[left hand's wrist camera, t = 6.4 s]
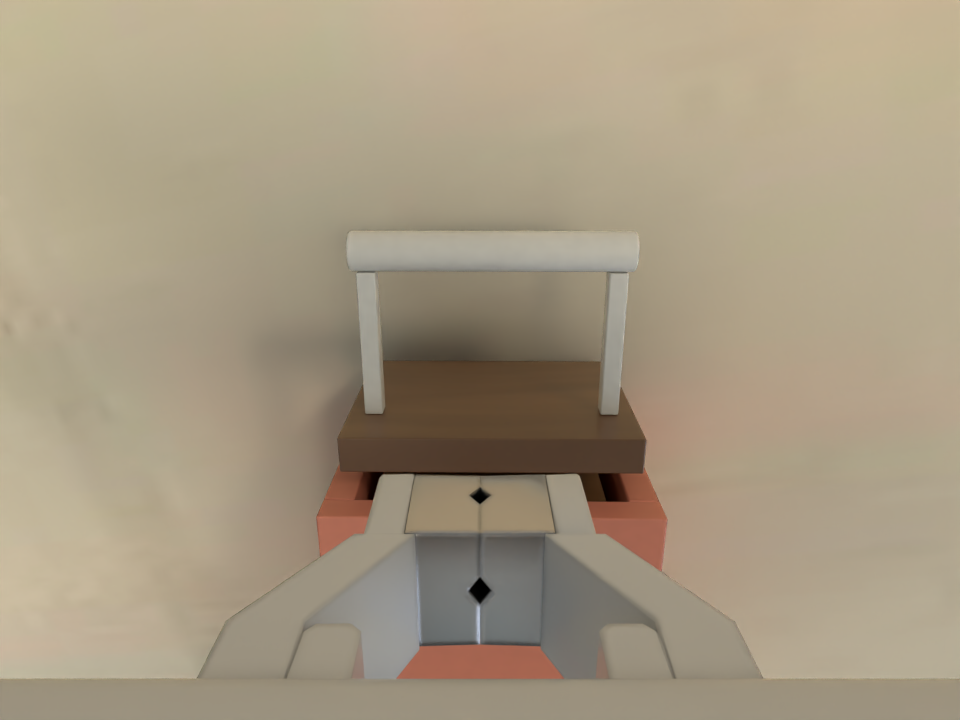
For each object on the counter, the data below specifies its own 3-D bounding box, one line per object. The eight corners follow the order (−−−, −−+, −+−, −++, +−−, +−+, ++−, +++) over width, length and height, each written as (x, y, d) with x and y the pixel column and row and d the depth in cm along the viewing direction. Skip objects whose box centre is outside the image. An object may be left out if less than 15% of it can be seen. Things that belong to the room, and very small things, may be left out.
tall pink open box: (366, 399, 29) (315, 516, 20) (616, 400, 29) (668, 519, 20) (390, 761, 36) (360, 956, 28) (588, 764, 36) (617, 961, 28)
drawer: (364, 209, 25) (320, 242, 18) (620, 209, 25) (665, 243, 18) (395, 730, 34) (373, 875, 27) (582, 732, 34) (605, 878, 27)
